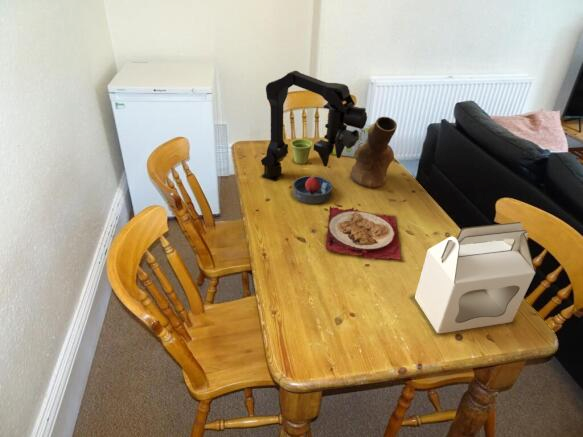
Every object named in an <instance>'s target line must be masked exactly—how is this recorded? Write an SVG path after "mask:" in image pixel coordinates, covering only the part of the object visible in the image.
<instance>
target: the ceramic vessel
mask: <svg viewBox="0 0 583 437" xmlns="http://www.w3.org/2000/svg"><path fill="white" fill-rule="evenodd" d="M371 124H372V125H371V126H370V128H369V131H368V138H367V141H366V143H364V144H362V145H361V146H360V147H358V148H357V150H356V151H355V153H354V157H353V158H354V159H355V163H354V164H353V165H352V167H351V171H350V178H351V180H352V182H353V183H354V184H357V185H358V186H361V187H364V188H369V189H376V188H380V186H382V185H384V183H385V182H386V179H387V174H388V169H389V167H390V166H391V163H392V162H393V160H394V158H395V153H394V151H393V148H392V146H390V145H389V144H390V142H391V140H392V138H393V136H394V134H395V132H396V130H397V127H398V124H397V122H396V120H395V119H393V118H392V117H388V116H380V117H377V119H376V120H375V122H374V123H371Z"/></svg>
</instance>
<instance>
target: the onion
mask: <svg viewBox="0 0 583 437" xmlns="http://www.w3.org/2000/svg"><path fill="white" fill-rule="evenodd" d="M311 176H312V177H310V178H309V179H308V180H307V181H306V183H305V188H306V190H307V191H308V192H310V193H311V194H314V193H315V192H317V191H318V190H319V189H320V182H319V180H318V179H317V178H316V177H317V176H316V175H311ZM315 176H316V177H315Z"/></svg>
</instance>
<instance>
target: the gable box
mask: <svg viewBox="0 0 583 437" xmlns="http://www.w3.org/2000/svg"><path fill="white" fill-rule="evenodd" d="M523 226H524V224H523V223H522V222H521V221H516V222H506V223H497V224H486V225H478V226H469V227H462V228H461V229H460V231H459V233H458V234H457V237H455V236H449V237H447V238H445V239H443V240H442V241H440V242H439V243H436V244H435V245H433V246H432V247H430V248H428V249H427V250H426V254H425V259H424V262H423V265H422V269H421V273H420V277H419V280H418V284H417V287H416V291H415V296H414V299H415V301H416V302H417V304H418V305H419V306H420V309H421V310H422V311H423V313H424V315H425V316H426V318H427V319H428V321H429V323H430V324H431V326H432V328H433V329H434V330H435V332H436V334H445V333H451V332H457V331H463V330H465V331H466V330H470V329H477V328H482V327H489V326H495V325H501V324H507V323H512V322H513V320H514V318H515V316H516V315H517V312H518V310H519V308H520V307H521V306H520V305H521V304H522V301H523V299H524V297H525V296H526V293H527V292H528V289H529V287H530V285H531V283H532V281H533V279H534V276H535V275H536V268H535V265H534V262H533V258H532V254H531V250H530V246H529V243H528V239H527V238H528V235H529V232H528V231H527V230H526V229H524V230H523ZM443 260H444V261H443Z"/></svg>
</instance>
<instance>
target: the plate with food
mask: <svg viewBox="0 0 583 437" xmlns="http://www.w3.org/2000/svg"><path fill="white" fill-rule="evenodd" d="M333 205H335V206H336V207H334V206H333V207H331V206H329V209H328V210H329V211H328V213H329V214H328V221H327V233H326V241H325V243H326V244H325V250H327V251H328V252H336V253H344V254H348V255H353V256H359V258H364V259H373V260H374V259H375V260H378V259H383V260H388V259H392V260H393V259H394V260H400V259H402V254H401V250H400V241H399V240H400V239H399V234H398V226H397V221H396V216H394V215H386V214H375V213H370V212H367V211H360V210H358V209H355V208H354V207H352V208H348V209H342V208H343V205H340V204H338V203H333Z"/></svg>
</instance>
